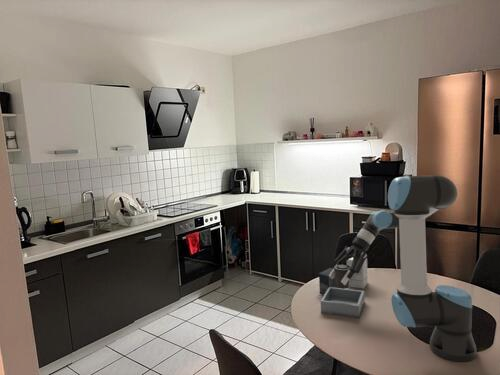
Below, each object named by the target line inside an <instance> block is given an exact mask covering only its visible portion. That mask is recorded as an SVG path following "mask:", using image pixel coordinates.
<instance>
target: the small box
mask: <svg viewBox="0 0 500 375" xmlns="http://www.w3.org/2000/svg"><path fill="white" fill-rule="evenodd" d="M332 269H333V268H332V267H329V268H327V269H325V270H323V271H320V272H318V279H319V281H318V283H319V284H318V286H319V293H321V294H323V295H325V293H326V291H327V289H328V288H329V287H334V288H338V287H337V283H336V276H335V277H334V279H332V278H331V277H330V276H329V275H330V273H331V272H332Z"/></svg>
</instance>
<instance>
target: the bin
mask: <svg viewBox="0 0 500 375" xmlns="http://www.w3.org/2000/svg"><path fill="white" fill-rule="evenodd" d="M364 304H365V290H359V289H358V290H356V289H350V288H346V289H341V288H334V287H329V288H328V289H327V291H326V293H325V294H323V296H322V298H321V300H320V313H322V314H327V315H328V314H330V315H336V316H342V317H351V318H358V319H359V318H360V316H361V313H362V312H363V308H364Z"/></svg>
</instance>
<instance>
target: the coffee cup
mask: <svg viewBox="0 0 500 375" xmlns="http://www.w3.org/2000/svg"><path fill="white" fill-rule="evenodd" d="M349 269H351V267H350V266H348V265H347V264H341V265H336V266H335V265H334V270H335V276H336V283H337V287H338V288H341V289H349V287H350V286H349V280H348V282H347V284H346V285H344V284H343V283H342V282H341V281H342V279H343V278H344V276H345V275H346V273H347V271H348V270H349Z"/></svg>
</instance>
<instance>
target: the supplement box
mask: <svg viewBox="0 0 500 375" xmlns="http://www.w3.org/2000/svg"><path fill="white" fill-rule="evenodd" d="M352 262H353V257H352V258H351V259H348V260H347V261H346V265H348V266H350V267H351V265H352ZM357 270H358V269H357ZM368 282H369V280H368V257H367V258H366V259H365V261H364V263H363V265H362V268H361V270H360V272H359V273H358V274H357V273H355V274H353V276H352V277H351V279H349V287H350V288H356V289H365V287H366V286H367V284H368Z"/></svg>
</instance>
